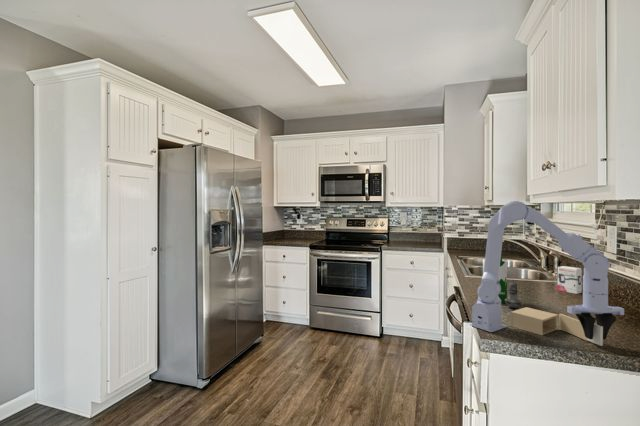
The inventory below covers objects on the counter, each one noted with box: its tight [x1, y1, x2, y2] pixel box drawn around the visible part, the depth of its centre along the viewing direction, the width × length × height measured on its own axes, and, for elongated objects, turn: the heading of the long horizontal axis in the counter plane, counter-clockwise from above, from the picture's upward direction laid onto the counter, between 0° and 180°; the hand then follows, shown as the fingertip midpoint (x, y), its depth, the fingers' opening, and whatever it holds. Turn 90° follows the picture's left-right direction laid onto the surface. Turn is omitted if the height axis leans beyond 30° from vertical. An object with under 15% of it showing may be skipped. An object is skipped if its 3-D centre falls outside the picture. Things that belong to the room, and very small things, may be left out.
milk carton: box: [482, 255, 508, 304], centre depth 144 cm, size 9×9×20 cm
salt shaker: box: [505, 279, 522, 312], centre depth 131 cm, size 6×6×12 cm
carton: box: [510, 306, 559, 336], centre depth 110 cm, size 10×10×5 cm
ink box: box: [556, 265, 583, 294], centre depth 159 cm, size 8×5×12 cm, turn 28°
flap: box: [558, 313, 604, 347], centre depth 102 cm, size 14×1×6 cm, turn 6°
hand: (595, 338), depth 97 cm, fingers open, 3 cm apart
